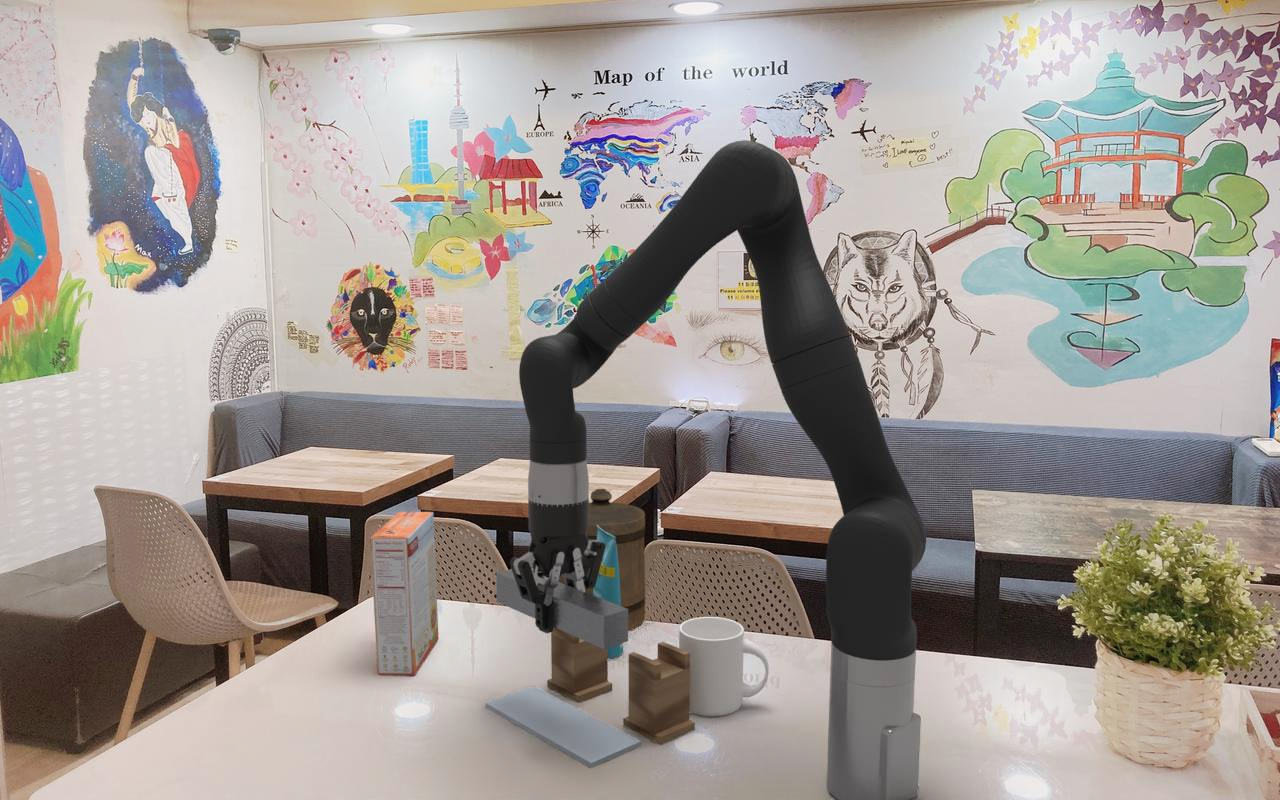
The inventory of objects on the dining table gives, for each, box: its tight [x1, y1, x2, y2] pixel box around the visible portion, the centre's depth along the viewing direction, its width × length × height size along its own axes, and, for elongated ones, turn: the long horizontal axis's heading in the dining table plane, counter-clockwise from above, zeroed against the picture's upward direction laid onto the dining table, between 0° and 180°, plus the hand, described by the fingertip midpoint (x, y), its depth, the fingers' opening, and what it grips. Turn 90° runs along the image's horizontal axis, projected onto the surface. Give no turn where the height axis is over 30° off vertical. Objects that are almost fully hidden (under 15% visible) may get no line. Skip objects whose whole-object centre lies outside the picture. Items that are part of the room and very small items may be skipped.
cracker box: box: [369, 511, 439, 676], centre depth 151 cm, size 14×6×21 cm, turn 176°
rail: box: [495, 568, 629, 649], centre depth 128 cm, size 22×4×4 cm, turn 43°
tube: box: [593, 525, 624, 660], centre depth 153 cm, size 7×5×19 cm, turn 28°
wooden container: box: [558, 488, 646, 631], centre depth 167 cm, size 15×15×22 cm
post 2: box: [622, 641, 696, 746], centre depth 129 cm, size 7×6×10 cm
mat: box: [485, 685, 642, 768], centre depth 131 cm, size 22×8×1 cm, turn 43°
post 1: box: [546, 627, 613, 704], centre depth 141 cm, size 7×6×10 cm
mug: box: [678, 616, 770, 717], centre depth 136 cm, size 9×12×11 cm
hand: (559, 626), depth 129 cm, fingers closed on rail, 3 cm apart
